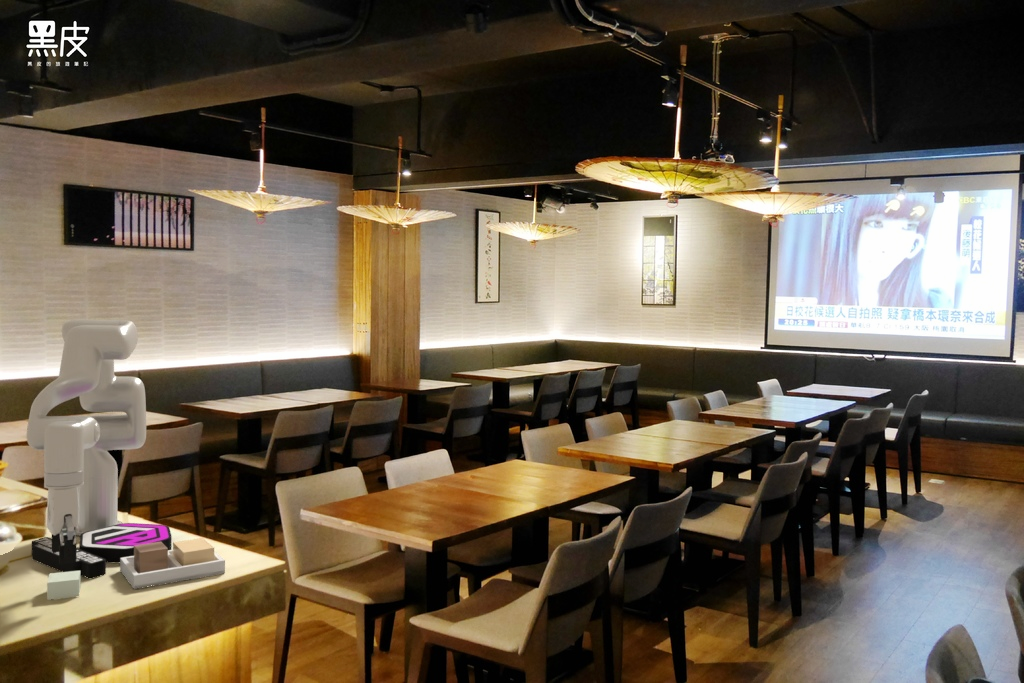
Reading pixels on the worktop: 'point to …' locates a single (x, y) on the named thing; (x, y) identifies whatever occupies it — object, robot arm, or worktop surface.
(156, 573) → the box
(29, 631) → the worktop surface
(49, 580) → the sage box
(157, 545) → the walnut block
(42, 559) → the sign
